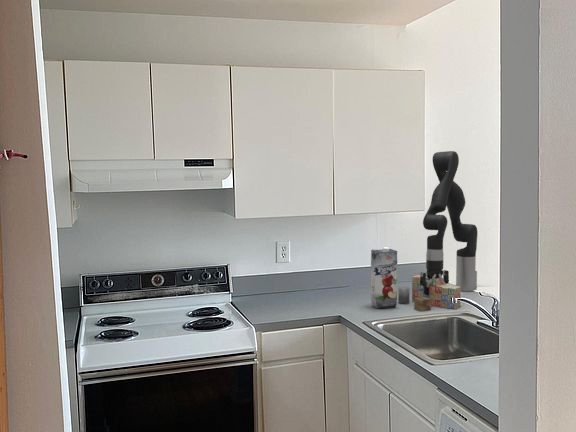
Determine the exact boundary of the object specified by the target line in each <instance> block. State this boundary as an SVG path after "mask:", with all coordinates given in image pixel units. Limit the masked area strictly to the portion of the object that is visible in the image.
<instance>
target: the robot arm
mask: <svg viewBox="0 0 576 432" xmlns="http://www.w3.org/2000/svg"><path fill="white" fill-rule="evenodd" d="M459 158H460V157H459V154H458V153H457V151H455V150H449V151H448V150H447V151H438V152H434V154H433V155H432V166H433V170H434V171H435V174H436V176H437V179H438V181H439V183H438V185H436V187H434V190H433V192H432V195H431V200H430V205H429V207H428V209H427V211H426V213H425V215H424V217H423V220H422V225H423V228H424V229H425V230H427V231H437V233H436V234H430V235H428V236H427V237H426V238H427V239H426V253H425V254H426V255H425V256H426V257H425V259H426V261H425V262H426V263H425V264H426V265H425V266H426V267H425V268H426V272H423V271H422V272H421V271H420V274H419V275H420V285H422V286H424V294H425V295H429V285H430V283H432V279H435V278H440V279H441V282H442V284H445V285H449V284H450V276H449V275H450V274H449V273H450V272H449V271H448V270H446V269H444V237H445V233H446V230H447V227H448V218H447V217H446V215H444V214H439V213H443V212H445V211H446V209H447V212H448V214H449V219H450V220H449V221H450V224H451V230H452V234H453V235H452V236H453V239H454V240H455V241H456V242H458V243H459V242H460V243H466V246H464V247H462V248H458V249H457V250H456V259H455V260H456V266H455V268H456V273H455V283H456V284H455V286H459V287H461V292H474V291H477V290H478V286H477V285H478V284H477V283H478V271H477V270H476V266H477V265H476V262H477V261H476V260H477V256H476V254H477V247H478V227H477V226H476V224H472V223H462V221H461V214H462V212H463V211H464V209H465V206H466V198H465V194H464V190H463V189H462V187H460V186H459V184H458V183H456V182H455V181H454V179H455V178H456V177H455V176H456V173H457V170H458V168H459V163H460V162H459V161H460V159H459ZM426 277H427V278H429V279H430V280H426ZM427 282H428V283H427Z"/></svg>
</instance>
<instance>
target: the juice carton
mask: <svg viewBox="0 0 576 432" xmlns="http://www.w3.org/2000/svg"><path fill="white" fill-rule="evenodd" d="M370 252H371V253H370V299H371V306H373V307H374V308H377V309H378V310H383V309H393V308H396V307H397V304H398V303H397V301H398V251H397V250H396V249H391V248H390V247H387V246H384V247H382V249H378V248H377V249H376V248H375V249H371V250H370Z"/></svg>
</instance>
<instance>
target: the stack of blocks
mask: <svg viewBox="0 0 576 432" xmlns="http://www.w3.org/2000/svg"><path fill="white" fill-rule="evenodd" d="M426 280H430V279H429V278H427V277H426ZM427 283H428V282H427ZM411 285H412V286H411V289H412V290H411V297H412V298H411V300H412V301H411V302H412V303H414V298H419V297H425V298H428V299H431V307H438V308H444V309H450V310H455V309H458V308H460V307H461V300H460V301H457V303H456V304H453V303H451V300H450V299H451V297H454V298H460V299H461V293H462V291H461V287H459V286H456V285H452V284H446V285H445V284H442V282H441V279H440V278H435V279H432V283H430V285H429V295H425V294H424V286H422V285H420V274H417V275H414V276H412V277H411Z"/></svg>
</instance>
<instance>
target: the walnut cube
mask: <svg viewBox="0 0 576 432" xmlns="http://www.w3.org/2000/svg"><path fill="white" fill-rule="evenodd" d="M431 308H432V305H431V299H428V298H425V297H419V298H414V302H413V309H414V310H415V311H418V312H421V313H422V312H429V311H431Z"/></svg>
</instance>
